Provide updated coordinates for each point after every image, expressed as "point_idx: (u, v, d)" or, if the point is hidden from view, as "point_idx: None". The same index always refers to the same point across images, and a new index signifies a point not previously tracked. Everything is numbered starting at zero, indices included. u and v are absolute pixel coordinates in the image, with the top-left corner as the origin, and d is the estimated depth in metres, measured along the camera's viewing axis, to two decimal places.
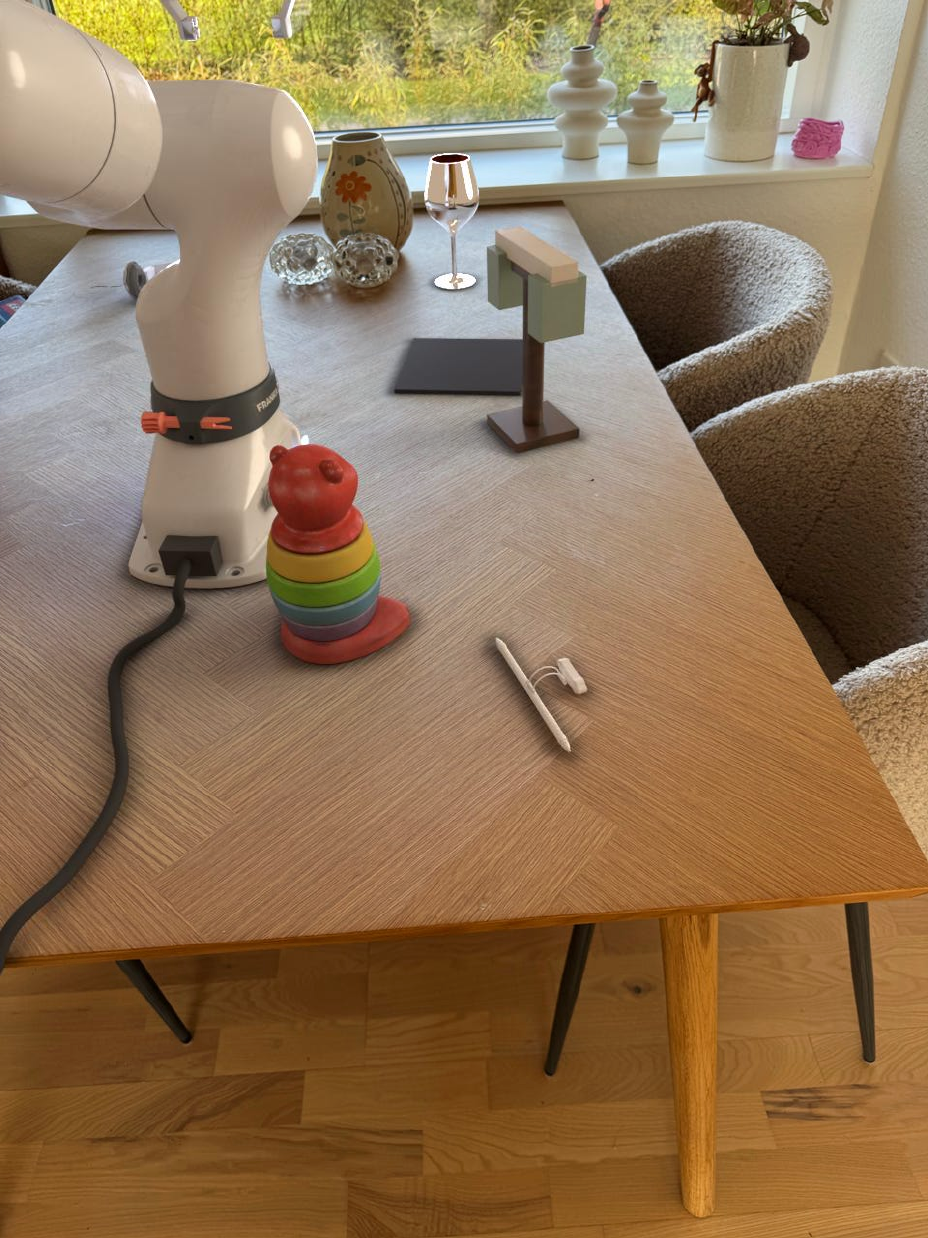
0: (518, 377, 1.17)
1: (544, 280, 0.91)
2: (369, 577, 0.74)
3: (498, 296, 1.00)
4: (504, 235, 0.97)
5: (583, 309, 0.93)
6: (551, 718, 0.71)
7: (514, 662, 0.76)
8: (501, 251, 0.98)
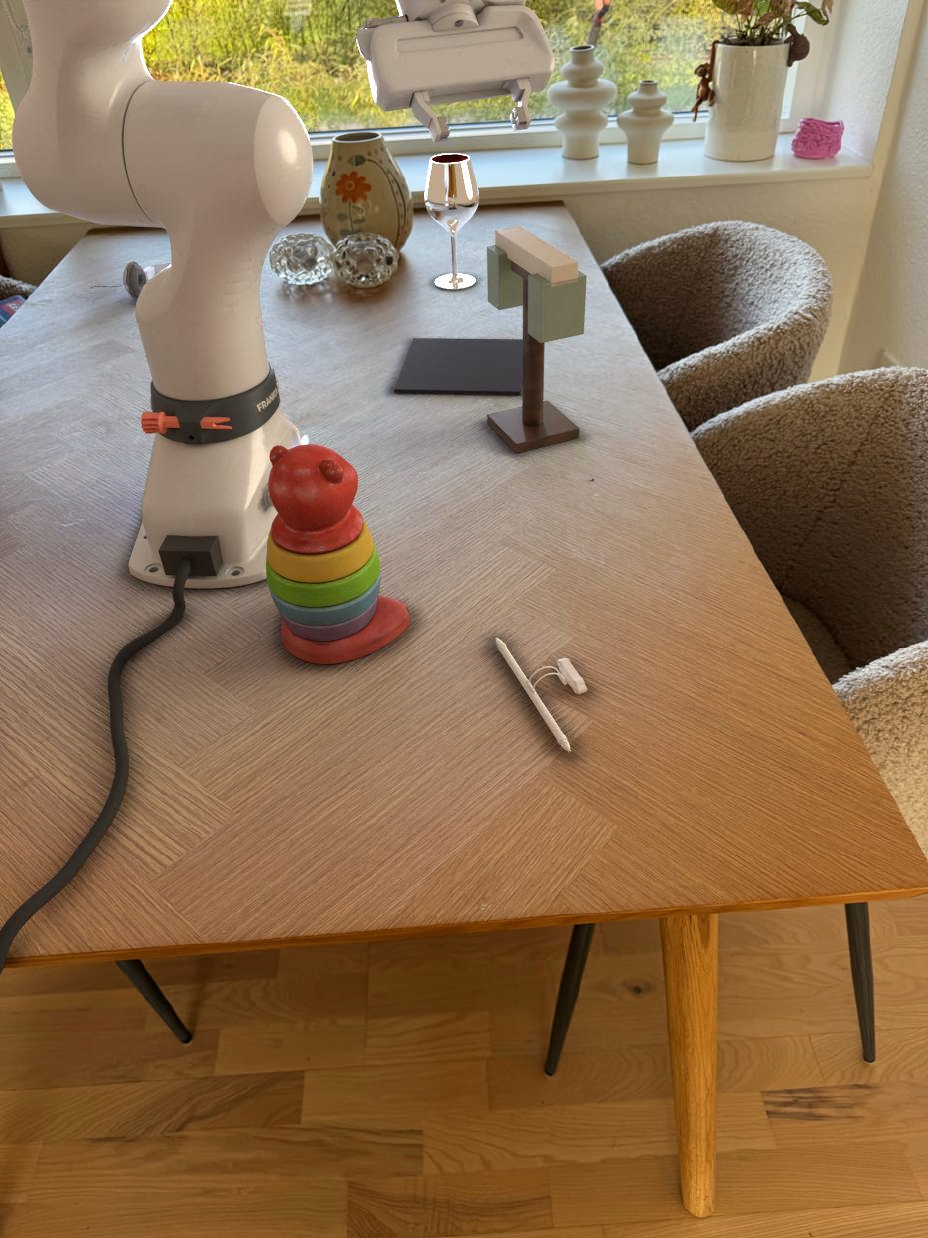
0: (518, 377, 1.17)
1: (544, 280, 0.91)
2: (369, 577, 0.74)
3: (498, 296, 1.00)
4: (504, 235, 0.97)
5: (583, 309, 0.93)
6: (551, 718, 0.71)
7: (514, 662, 0.76)
8: (501, 251, 0.98)
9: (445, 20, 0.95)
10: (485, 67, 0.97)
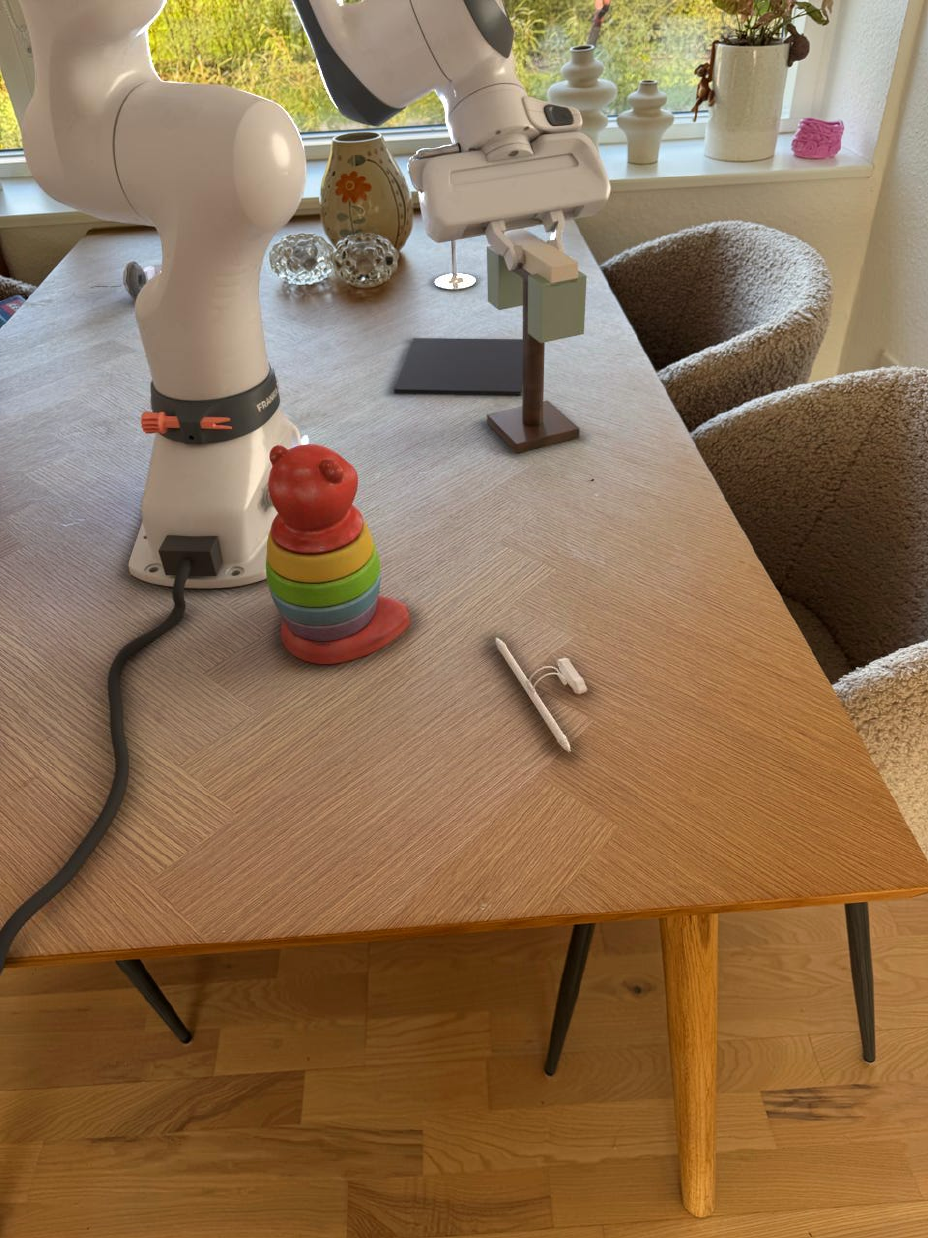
0: (518, 377, 1.17)
1: (544, 280, 0.91)
2: (369, 577, 0.74)
3: (498, 296, 1.00)
4: None
5: (583, 309, 0.93)
6: (551, 718, 0.71)
7: (514, 662, 0.76)
8: None
9: (499, 151, 0.92)
10: (540, 197, 0.94)
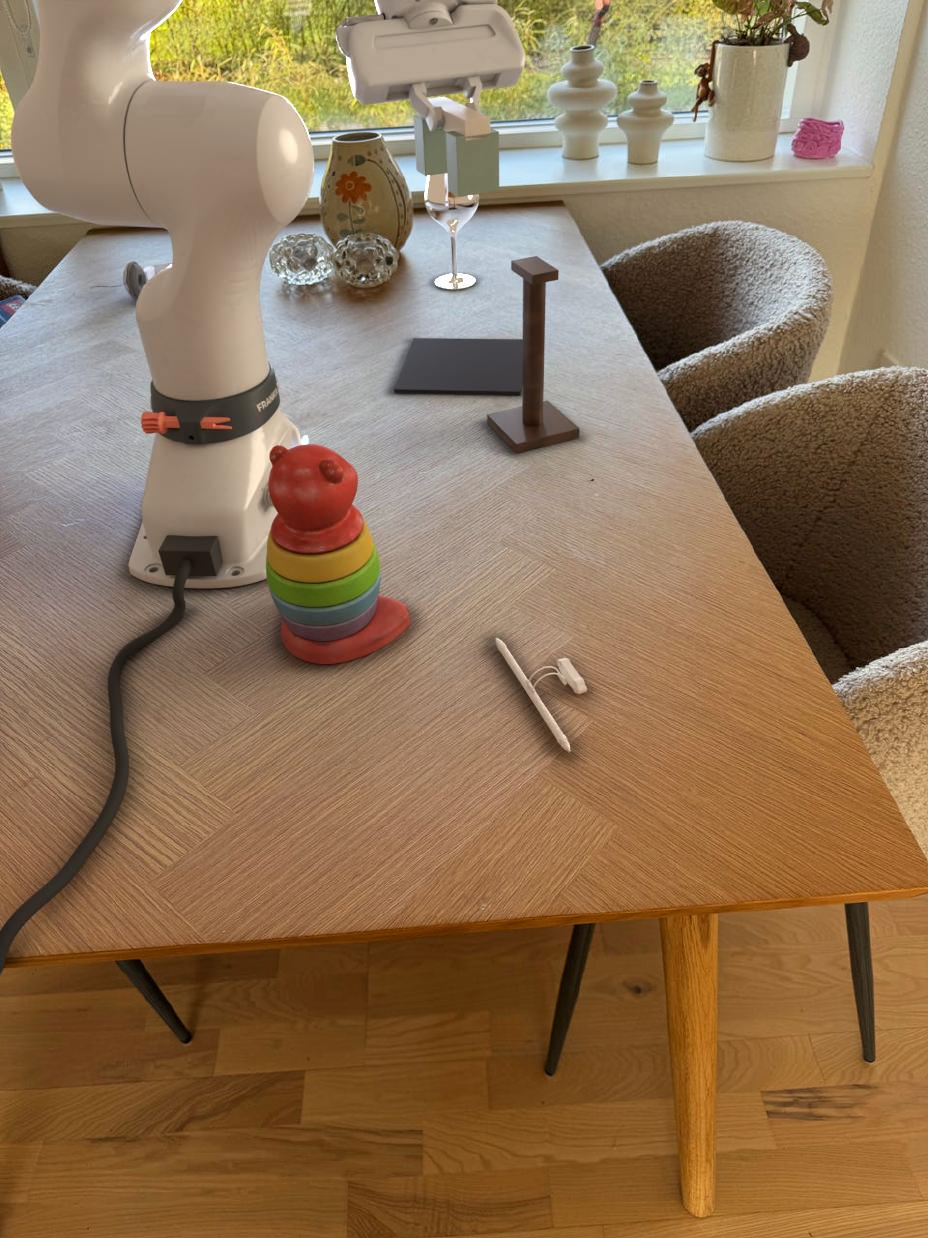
0: (518, 377, 1.17)
1: (459, 134, 0.99)
2: (369, 577, 0.74)
3: (424, 161, 1.08)
4: None
5: (497, 165, 1.01)
6: (551, 718, 0.71)
7: (514, 662, 0.76)
8: None
9: (420, 18, 1.00)
10: (458, 63, 1.02)
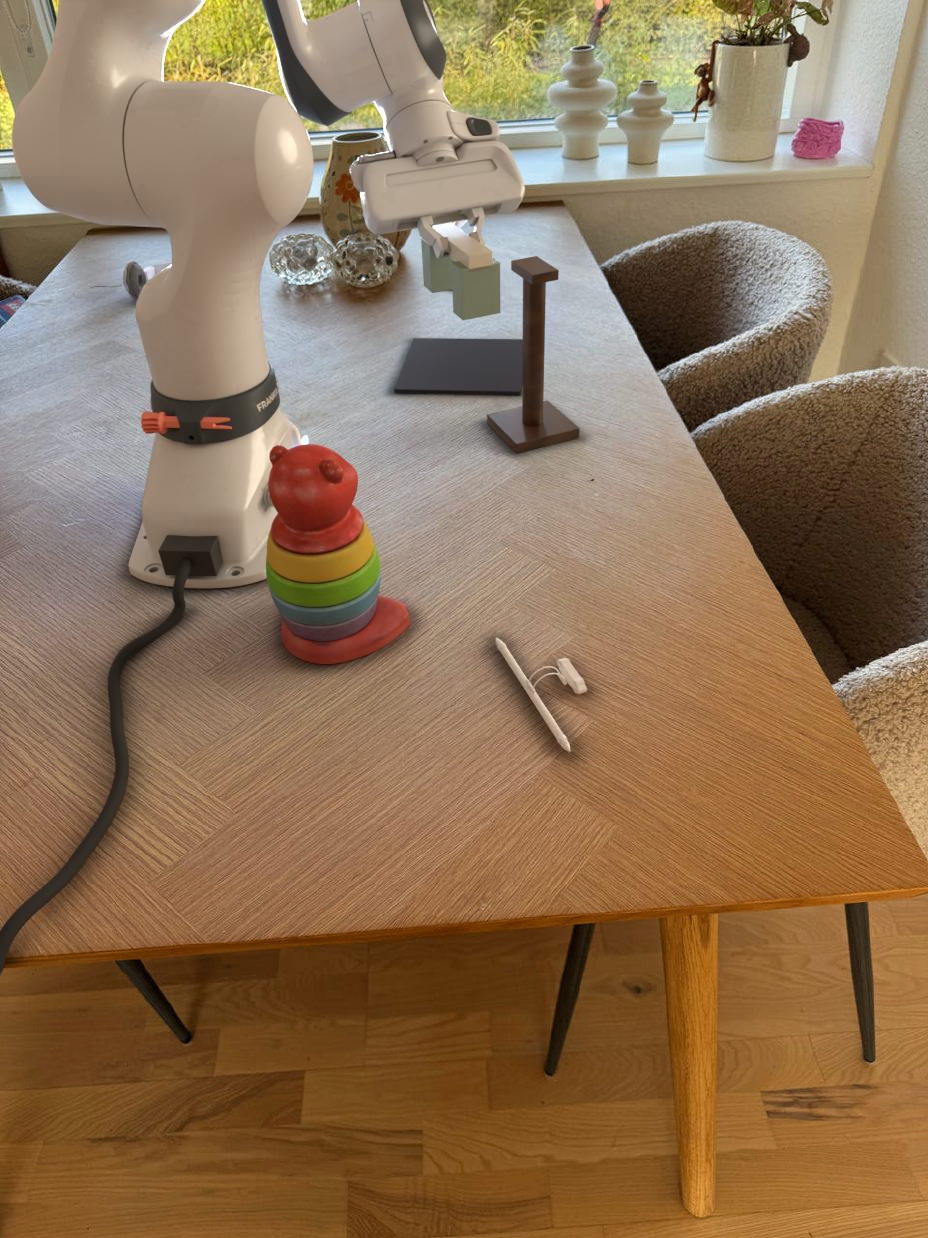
0: (518, 377, 1.17)
1: (464, 266, 1.07)
2: (369, 577, 0.74)
3: (431, 280, 1.17)
4: (435, 229, 1.14)
5: (498, 291, 1.10)
6: (551, 718, 0.71)
7: (514, 662, 0.76)
8: None
9: (428, 157, 1.09)
10: (463, 196, 1.11)
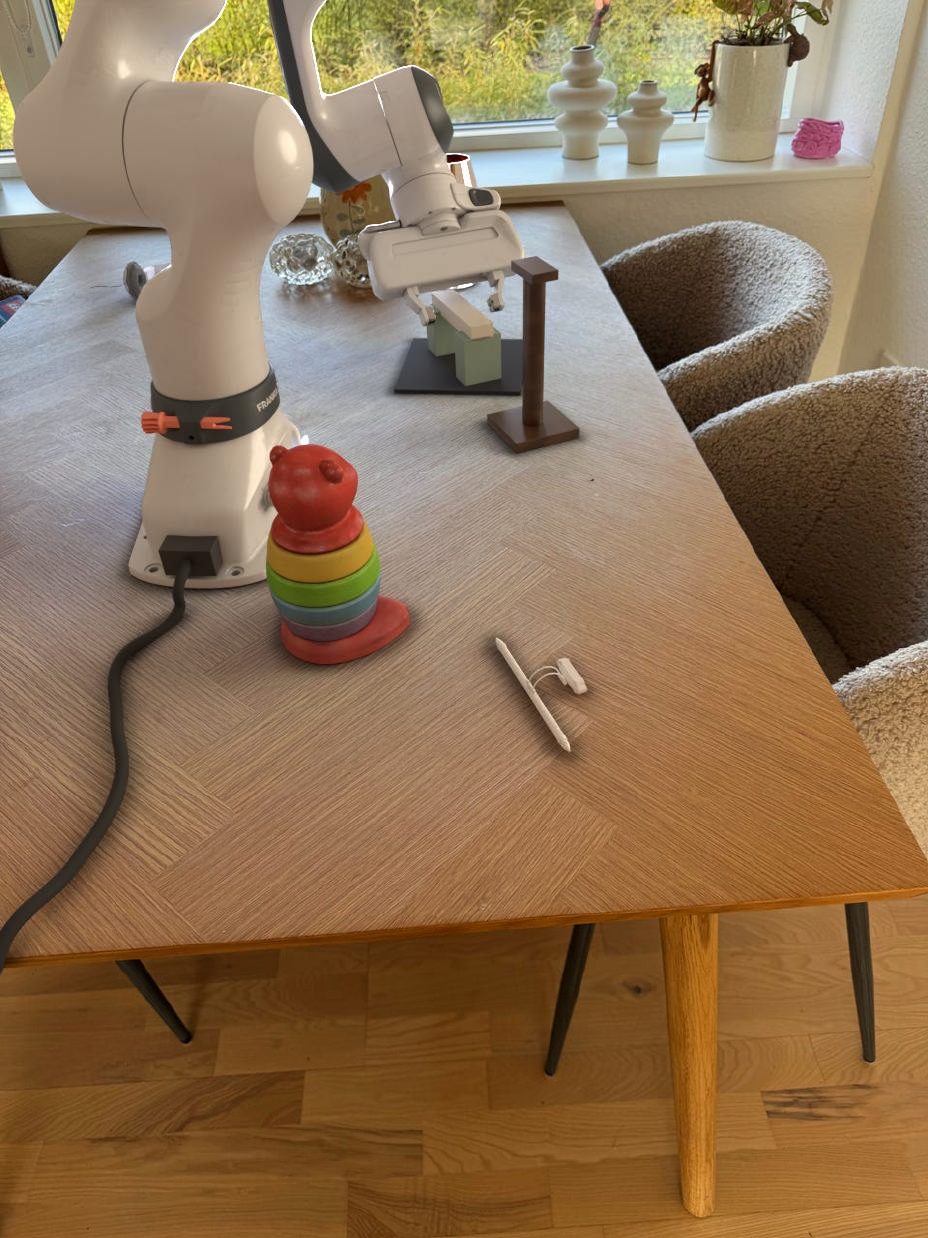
0: (518, 377, 1.17)
1: (466, 337, 1.13)
2: (369, 577, 0.74)
3: (435, 345, 1.22)
4: (438, 297, 1.19)
5: (499, 359, 1.16)
6: (551, 718, 0.71)
7: (514, 662, 0.76)
8: (436, 310, 1.20)
9: (432, 227, 1.14)
10: (466, 264, 1.16)
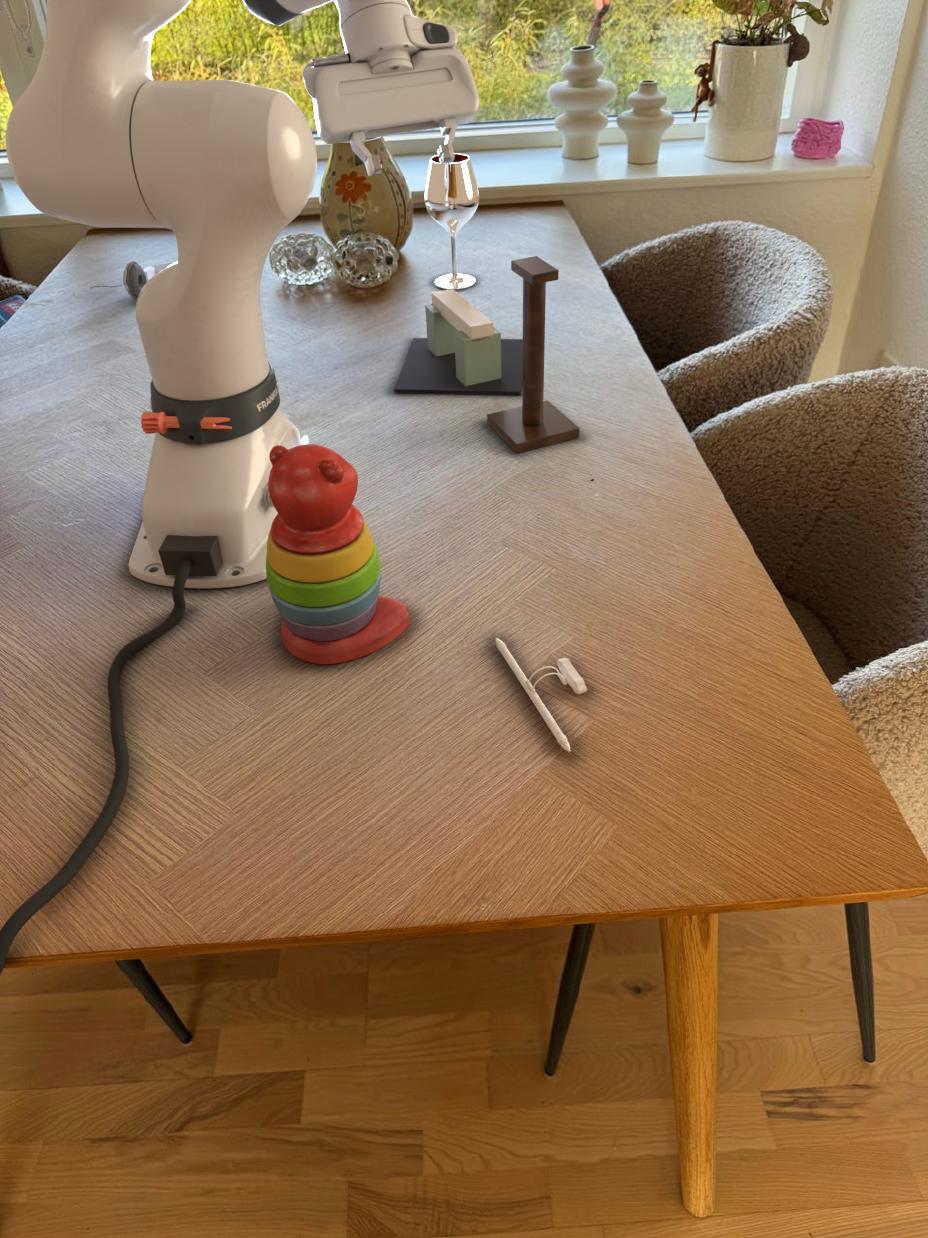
0: (518, 377, 1.17)
1: (466, 337, 1.13)
2: (369, 577, 0.74)
3: (435, 345, 1.22)
4: (438, 297, 1.19)
5: (499, 359, 1.16)
6: (551, 718, 0.71)
7: (514, 662, 0.76)
8: (436, 310, 1.20)
9: (382, 65, 1.08)
10: (416, 109, 1.11)
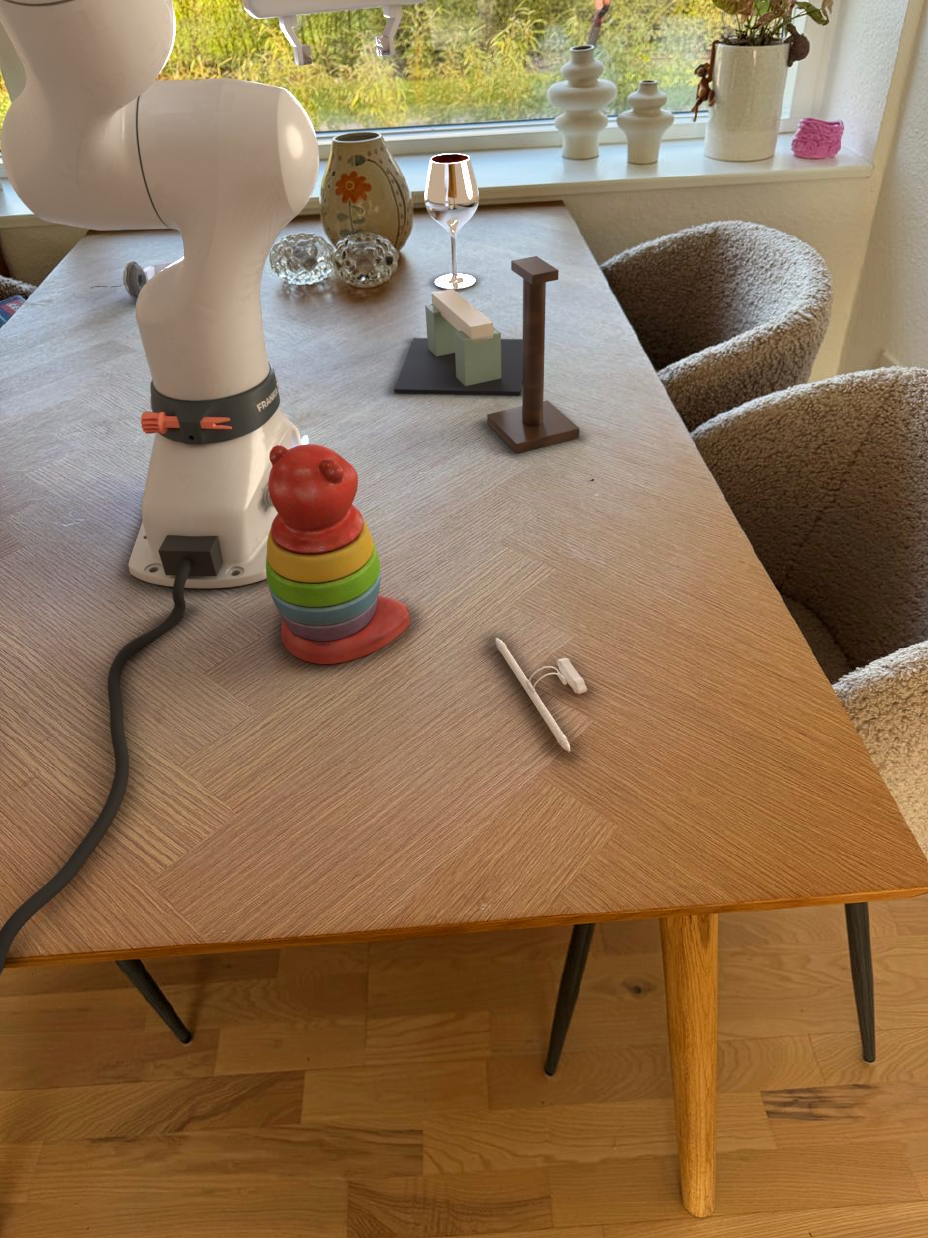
0: (518, 377, 1.17)
1: (466, 337, 1.13)
2: (369, 577, 0.74)
3: (435, 345, 1.22)
4: (438, 297, 1.19)
5: (499, 359, 1.16)
6: (551, 718, 0.71)
7: (514, 662, 0.76)
8: (436, 310, 1.20)
9: None
10: None
